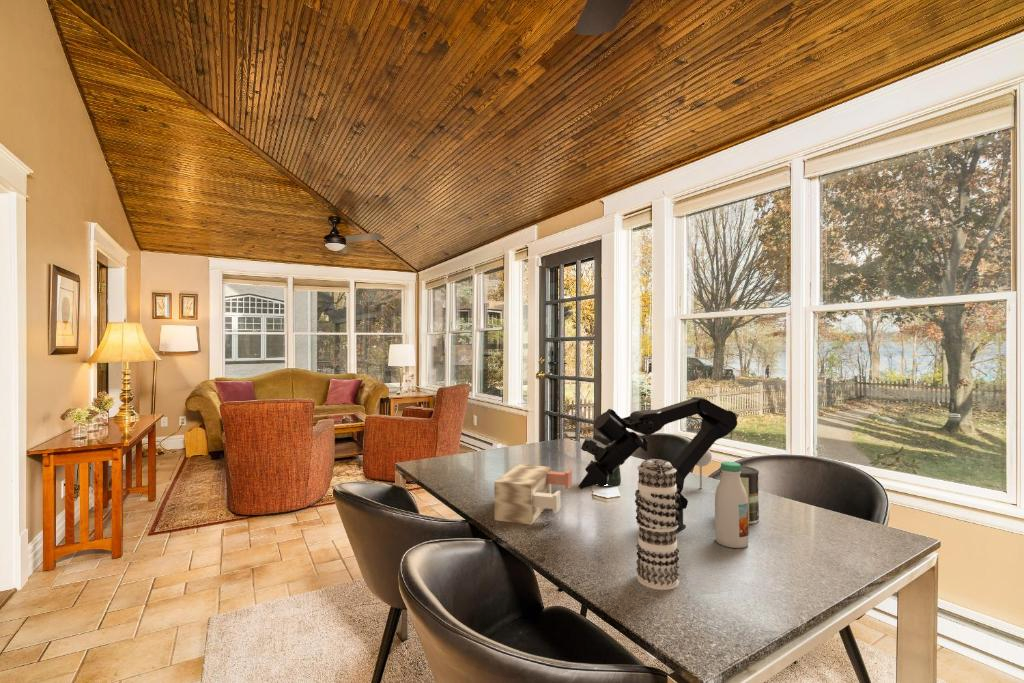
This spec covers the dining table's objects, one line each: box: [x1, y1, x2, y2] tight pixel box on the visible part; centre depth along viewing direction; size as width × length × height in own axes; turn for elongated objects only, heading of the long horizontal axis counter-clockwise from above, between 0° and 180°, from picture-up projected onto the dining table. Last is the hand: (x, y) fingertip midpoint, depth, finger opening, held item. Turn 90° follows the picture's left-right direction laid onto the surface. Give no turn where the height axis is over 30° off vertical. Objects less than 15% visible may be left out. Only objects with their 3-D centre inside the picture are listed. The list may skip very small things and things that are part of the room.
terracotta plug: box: [547, 469, 573, 490], centre depth 150 cm, size 12×5×5 cm, turn 71°
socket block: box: [493, 463, 552, 526], centre depth 145 cm, size 11×22×11 cm, turn 161°
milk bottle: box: [714, 461, 750, 549], centre depth 120 cm, size 8×8×20 cm
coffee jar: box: [592, 432, 622, 486], centre depth 173 cm, size 10×8×19 cm
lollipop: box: [695, 449, 713, 489], centre depth 167 cm, size 7×7×15 cm
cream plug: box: [533, 490, 562, 514], centre depth 136 cm, size 12×5×5 cm, turn 71°
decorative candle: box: [634, 458, 680, 591], centre depth 101 cm, size 9×9×25 cm
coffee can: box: [718, 465, 760, 525], centre depth 138 cm, size 10×10×14 cm
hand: (579, 487), depth 131 cm, fingers closed
